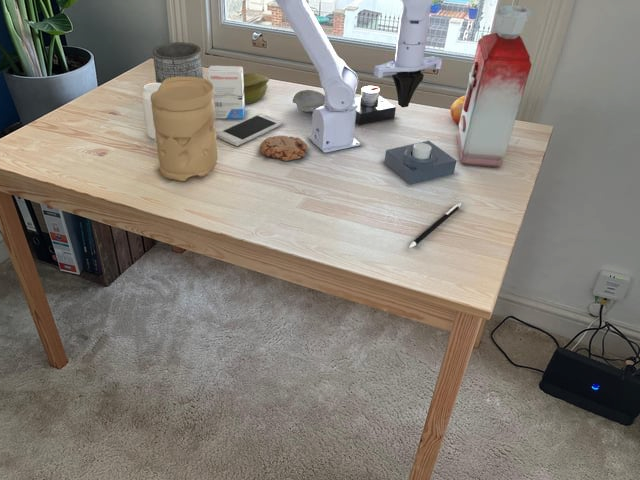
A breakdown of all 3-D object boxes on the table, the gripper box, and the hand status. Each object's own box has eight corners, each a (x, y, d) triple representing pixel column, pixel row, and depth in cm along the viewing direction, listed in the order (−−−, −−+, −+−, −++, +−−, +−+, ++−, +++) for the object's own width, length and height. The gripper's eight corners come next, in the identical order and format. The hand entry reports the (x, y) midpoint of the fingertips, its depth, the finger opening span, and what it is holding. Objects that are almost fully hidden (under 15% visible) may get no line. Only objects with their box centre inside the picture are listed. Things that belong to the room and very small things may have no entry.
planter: (213, 95, 155) (210, 46, 147) (185, 111, 148) (180, 61, 139) (177, 86, 160) (172, 39, 152) (149, 102, 153) (142, 52, 144)
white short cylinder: (418, 161, 117) (420, 152, 116) (408, 153, 119) (410, 144, 118) (433, 158, 118) (435, 149, 117) (423, 150, 120) (424, 141, 119)
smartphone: (215, 136, 136) (215, 133, 136) (260, 116, 145) (260, 112, 144) (237, 146, 132) (236, 142, 132) (281, 124, 141) (281, 121, 140)
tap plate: (359, 125, 140) (360, 113, 138) (341, 111, 147) (342, 99, 145) (394, 118, 143) (396, 106, 141) (375, 104, 149) (377, 93, 147)
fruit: (495, 125, 136) (485, 97, 132) (463, 141, 139) (451, 114, 135) (485, 111, 142) (475, 83, 138) (454, 126, 145) (443, 100, 141)
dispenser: (411, 186, 118) (415, 164, 115) (383, 163, 126) (387, 142, 123) (455, 175, 121) (461, 154, 118) (426, 153, 129) (430, 132, 126)
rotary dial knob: (365, 108, 141) (367, 92, 138) (356, 101, 144) (358, 86, 141) (381, 105, 142) (383, 89, 139) (372, 98, 145) (374, 83, 142)
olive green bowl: (268, 108, 149) (268, 82, 144) (222, 107, 149) (220, 82, 145) (269, 90, 157) (269, 66, 153) (225, 90, 158) (224, 66, 153)
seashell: (283, 111, 147) (283, 92, 144) (300, 100, 152) (301, 82, 149) (323, 123, 141) (324, 103, 138) (339, 111, 147) (341, 92, 143)
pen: (462, 206, 112) (463, 201, 111) (410, 250, 102) (411, 245, 101) (458, 205, 113) (459, 200, 112) (406, 248, 102) (407, 243, 101)
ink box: (245, 111, 147) (244, 65, 140) (243, 119, 143) (241, 72, 136) (212, 110, 148) (209, 64, 140) (209, 118, 144) (205, 71, 137)
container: (156, 184, 120) (144, 100, 108) (164, 155, 130) (154, 76, 118) (216, 183, 120) (211, 100, 108) (219, 155, 130) (215, 75, 118)
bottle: (505, 170, 123) (550, 21, 103) (455, 166, 125) (490, 19, 105) (497, 139, 134) (537, 0, 114) (452, 136, 135) (483, -3, 116)
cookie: (258, 143, 134) (258, 131, 132) (303, 141, 134) (304, 129, 132) (261, 164, 126) (261, 152, 124) (309, 162, 127) (310, 149, 125)
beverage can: (166, 128, 140) (160, 79, 133) (178, 137, 136) (172, 87, 129) (143, 134, 138) (135, 85, 130) (154, 144, 134) (147, 94, 126)
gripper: (433, 30, 121) (423, 93, 129) (370, 39, 118) (364, 103, 126) (451, 40, 115) (440, 105, 124) (386, 49, 112) (379, 116, 121)
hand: (403, 105), depth 125 cm, fingers closed
